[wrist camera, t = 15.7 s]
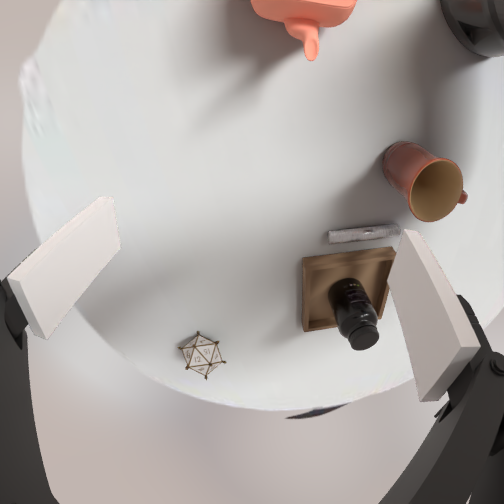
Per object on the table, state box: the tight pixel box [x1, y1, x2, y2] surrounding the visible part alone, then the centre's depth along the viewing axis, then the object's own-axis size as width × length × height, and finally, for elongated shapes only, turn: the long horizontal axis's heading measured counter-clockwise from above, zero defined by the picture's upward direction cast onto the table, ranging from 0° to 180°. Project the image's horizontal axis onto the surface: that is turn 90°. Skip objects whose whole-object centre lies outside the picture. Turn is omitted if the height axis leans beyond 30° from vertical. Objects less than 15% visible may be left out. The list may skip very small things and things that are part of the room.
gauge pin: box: [327, 224, 400, 244], centre depth 46 cm, size 12×2×2 cm, turn 96°
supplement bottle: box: [328, 278, 379, 351], centre depth 49 cm, size 7×7×12 cm
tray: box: [302, 246, 396, 332], centre depth 53 cm, size 16×16×2 cm
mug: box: [382, 141, 468, 222], centre depth 36 cm, size 12×9×10 cm
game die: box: [178, 331, 226, 380], centre depth 57 cm, size 9×8×10 cm
